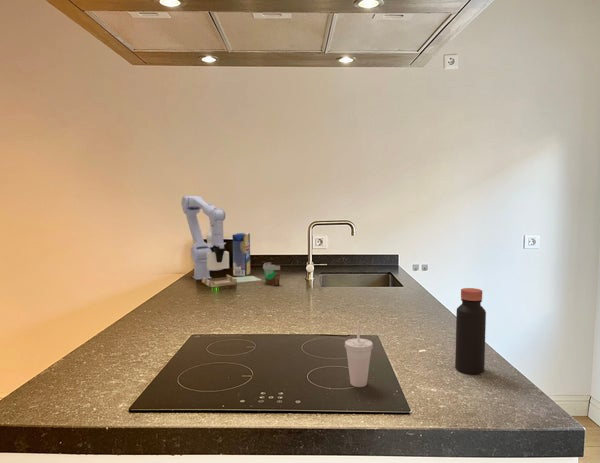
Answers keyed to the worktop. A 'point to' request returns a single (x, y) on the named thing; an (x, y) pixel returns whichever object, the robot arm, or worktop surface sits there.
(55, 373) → the worktop surface
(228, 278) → the rack
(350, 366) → the smoothie
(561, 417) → the worktop surface
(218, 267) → the beige rectangular block
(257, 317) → the worktop surface
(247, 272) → the beverage box
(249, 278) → the board
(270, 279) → the food container
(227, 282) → the offcut upper
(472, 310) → the bottle
